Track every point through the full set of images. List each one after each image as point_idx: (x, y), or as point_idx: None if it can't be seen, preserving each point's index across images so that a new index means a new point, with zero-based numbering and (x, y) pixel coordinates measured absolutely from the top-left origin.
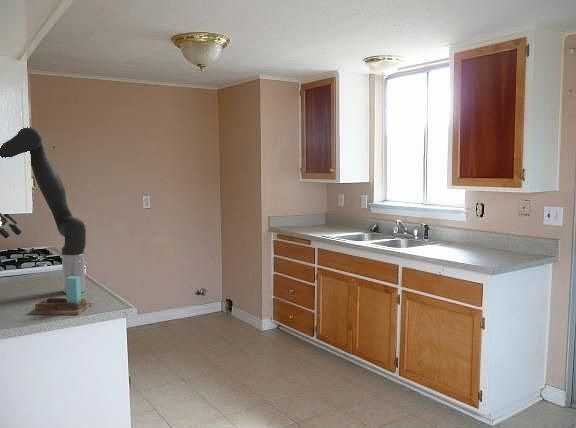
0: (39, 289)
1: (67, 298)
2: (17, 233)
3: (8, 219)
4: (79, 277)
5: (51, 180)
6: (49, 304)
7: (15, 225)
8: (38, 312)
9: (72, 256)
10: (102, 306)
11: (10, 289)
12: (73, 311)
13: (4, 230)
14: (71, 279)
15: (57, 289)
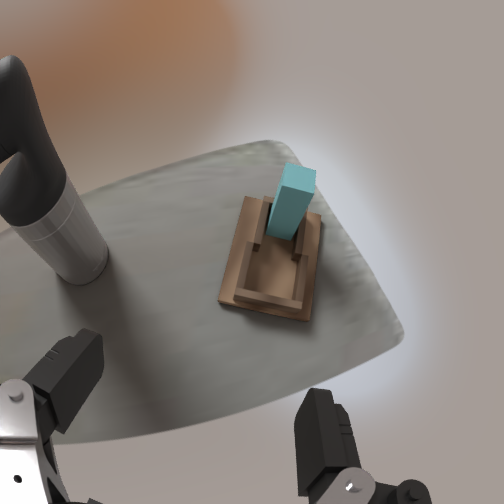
0: (32, 354)
1: (297, 225)
2: (96, 369)
3: (15, 478)
4: (292, 165)
5: None
6: (306, 271)
7: (34, 383)
8: (311, 302)
9: (67, 188)
10: (252, 181)
11: None
12: (314, 224)
13: (339, 438)
14: (314, 182)
15: (45, 305)
